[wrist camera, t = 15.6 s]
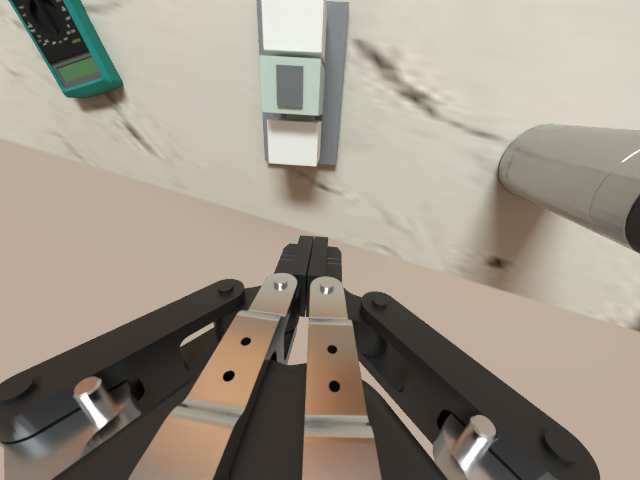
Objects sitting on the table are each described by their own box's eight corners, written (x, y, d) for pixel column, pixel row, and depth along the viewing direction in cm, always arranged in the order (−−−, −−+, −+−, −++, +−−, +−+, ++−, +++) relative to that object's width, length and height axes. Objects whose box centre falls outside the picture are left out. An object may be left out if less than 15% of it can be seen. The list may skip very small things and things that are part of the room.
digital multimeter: (49, -73, 26) (17, -93, 24) (128, 86, 33) (110, 84, 30) (-3, -49, 27) (-38, -65, 25) (83, 100, 34) (62, 99, 31)
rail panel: (348, 6, 27) (351, -29, 20) (335, 163, 35) (335, 176, 28) (259, 2, 28) (233, -34, 21) (267, 158, 36) (250, 170, 29)
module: (325, 71, 29) (320, 58, 21) (322, 114, 31) (317, 115, 24) (278, 68, 29) (258, 54, 22) (279, 111, 31) (261, 112, 24)
